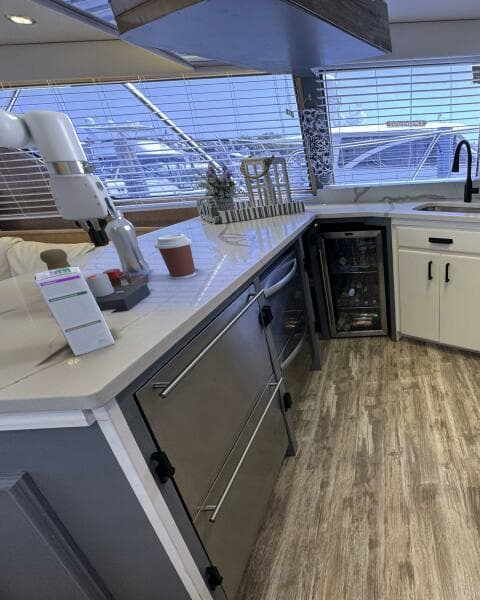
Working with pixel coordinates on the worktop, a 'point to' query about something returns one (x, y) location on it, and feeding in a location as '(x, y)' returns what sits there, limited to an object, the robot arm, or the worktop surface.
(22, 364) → the worktop surface
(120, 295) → the panel
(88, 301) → the syrup box
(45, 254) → the cork
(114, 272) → the ignition button
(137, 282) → the ignition block
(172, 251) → the coffee cup
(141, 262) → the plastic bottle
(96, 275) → the stove knob
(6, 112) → the robot arm
